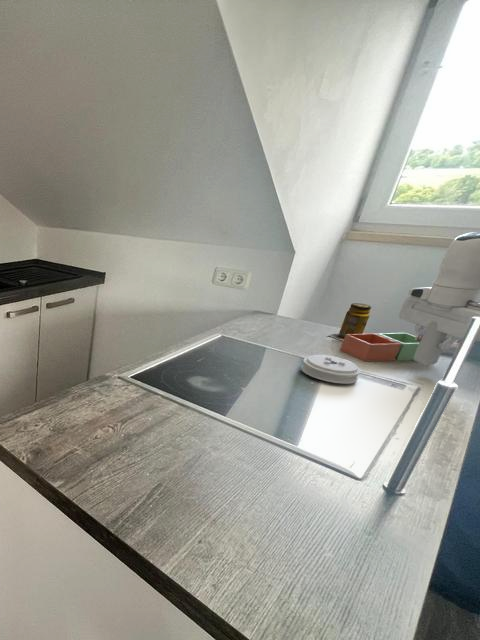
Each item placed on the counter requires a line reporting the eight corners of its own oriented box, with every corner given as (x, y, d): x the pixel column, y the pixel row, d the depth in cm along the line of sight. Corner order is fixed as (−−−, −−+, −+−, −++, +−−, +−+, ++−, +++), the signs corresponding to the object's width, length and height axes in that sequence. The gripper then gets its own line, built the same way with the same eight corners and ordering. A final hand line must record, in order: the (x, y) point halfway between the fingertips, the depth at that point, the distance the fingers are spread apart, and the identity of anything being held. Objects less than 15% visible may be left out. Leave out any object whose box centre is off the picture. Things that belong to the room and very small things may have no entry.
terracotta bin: (368, 349, 127) (374, 333, 125) (394, 360, 119) (401, 343, 116) (339, 349, 127) (345, 333, 125) (363, 361, 119) (370, 344, 116)
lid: (320, 364, 118) (325, 349, 116) (367, 382, 107) (374, 365, 104) (289, 370, 114) (294, 355, 112) (334, 389, 103) (341, 373, 101)
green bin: (398, 348, 127) (405, 332, 125) (427, 360, 119) (435, 343, 116) (370, 349, 127) (377, 333, 125) (396, 360, 119) (404, 343, 116)
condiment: (367, 340, 134) (380, 306, 129) (347, 342, 132) (359, 308, 128) (345, 333, 141) (357, 301, 136) (326, 335, 139) (337, 303, 134)
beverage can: (429, 359, 112) (448, 319, 107) (441, 365, 107) (460, 325, 103) (408, 357, 113) (425, 318, 108) (418, 364, 109) (436, 323, 104)
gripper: (511, 306, 93) (485, 359, 99) (425, 287, 112) (407, 332, 117) (485, 307, 93) (459, 360, 99) (403, 288, 112) (386, 333, 117)
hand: (430, 344), depth 108 cm, fingers closed on beverage can, 5 cm apart
